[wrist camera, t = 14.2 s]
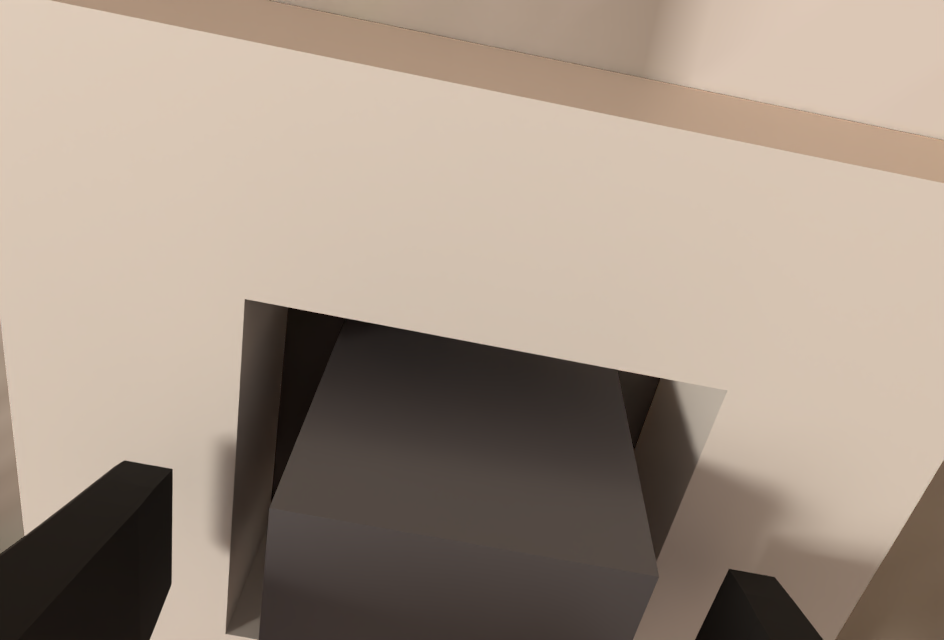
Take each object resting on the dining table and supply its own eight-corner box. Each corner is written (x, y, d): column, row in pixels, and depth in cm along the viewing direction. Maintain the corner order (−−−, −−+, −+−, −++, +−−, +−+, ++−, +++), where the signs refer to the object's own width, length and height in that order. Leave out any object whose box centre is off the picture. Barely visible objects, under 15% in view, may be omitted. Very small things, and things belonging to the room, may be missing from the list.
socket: (692, 705, 16) (718, 831, 14) (110, 606, 16) (45, 721, 14) (975, 146, 11) (1092, 213, 9) (81, -39, 10) (-37, -18, 8)
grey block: (551, 522, 14) (565, 800, 10) (332, 483, 14) (249, 749, 10) (610, 334, 13) (659, 577, 8) (358, 286, 12) (268, 508, 8)
